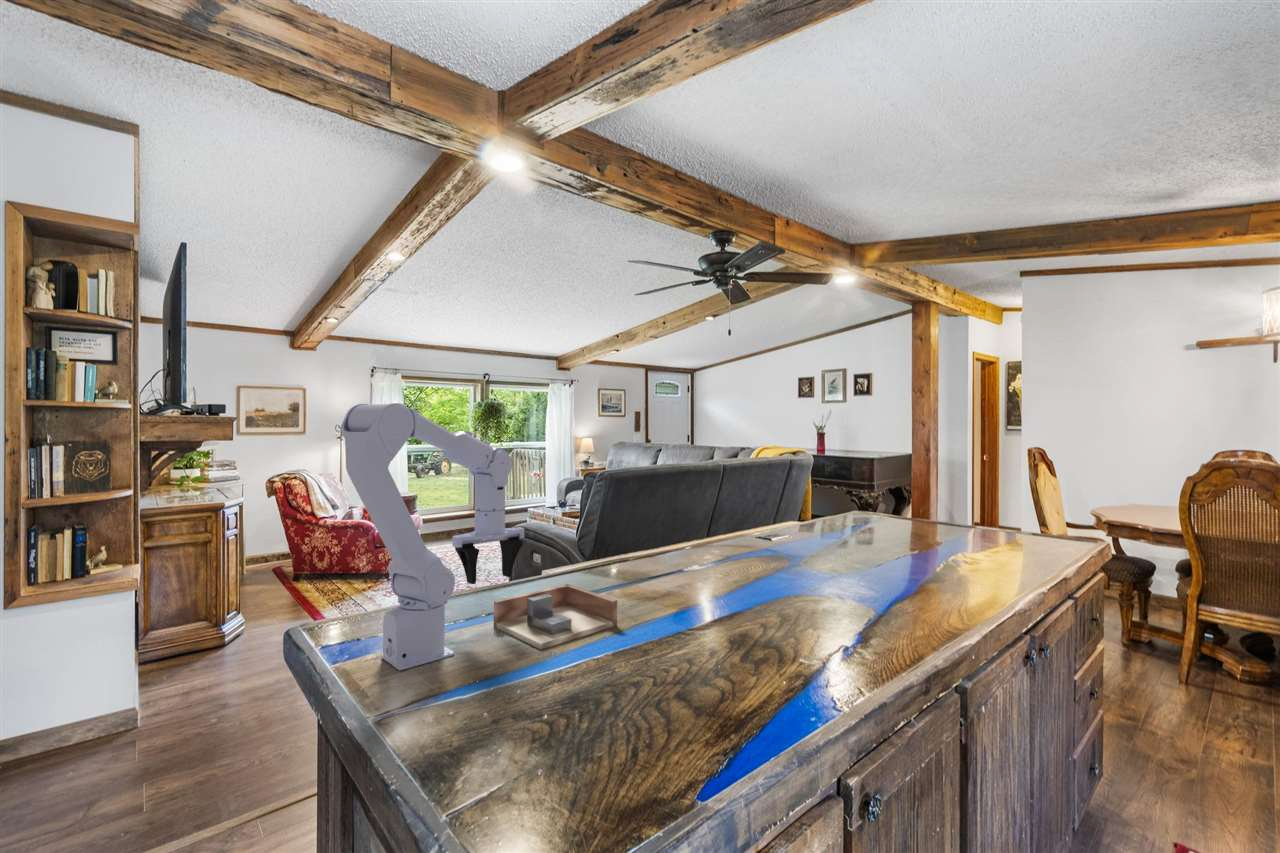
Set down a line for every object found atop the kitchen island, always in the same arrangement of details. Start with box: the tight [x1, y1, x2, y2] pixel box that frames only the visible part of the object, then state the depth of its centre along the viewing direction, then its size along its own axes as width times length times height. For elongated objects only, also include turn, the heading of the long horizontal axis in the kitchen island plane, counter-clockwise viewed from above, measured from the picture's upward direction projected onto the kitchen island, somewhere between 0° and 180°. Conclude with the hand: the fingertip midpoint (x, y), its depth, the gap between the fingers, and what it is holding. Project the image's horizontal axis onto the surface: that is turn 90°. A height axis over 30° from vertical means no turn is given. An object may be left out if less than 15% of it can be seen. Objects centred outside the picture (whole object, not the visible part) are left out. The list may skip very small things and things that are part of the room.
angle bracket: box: [527, 594, 571, 635], centre depth 110 cm, size 8×4×5 cm, turn 44°
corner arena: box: [493, 583, 618, 650], centre depth 114 cm, size 18×16×5 cm
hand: (489, 579), depth 112 cm, fingers open, 7 cm apart
